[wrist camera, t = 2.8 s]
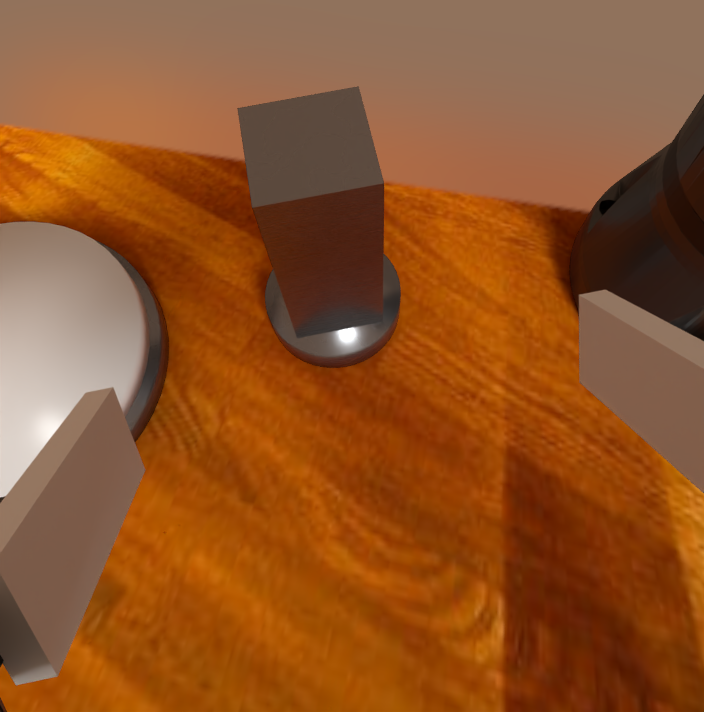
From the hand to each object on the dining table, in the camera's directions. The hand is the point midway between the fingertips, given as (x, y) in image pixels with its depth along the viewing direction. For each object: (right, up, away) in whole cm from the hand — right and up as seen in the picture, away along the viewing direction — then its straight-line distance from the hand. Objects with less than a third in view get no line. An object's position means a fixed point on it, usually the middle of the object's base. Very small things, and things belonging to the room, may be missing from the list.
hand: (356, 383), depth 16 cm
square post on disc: (-1, +4, +19) cm, 19 cm away
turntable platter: (-20, +1, +17) cm, 26 cm away
